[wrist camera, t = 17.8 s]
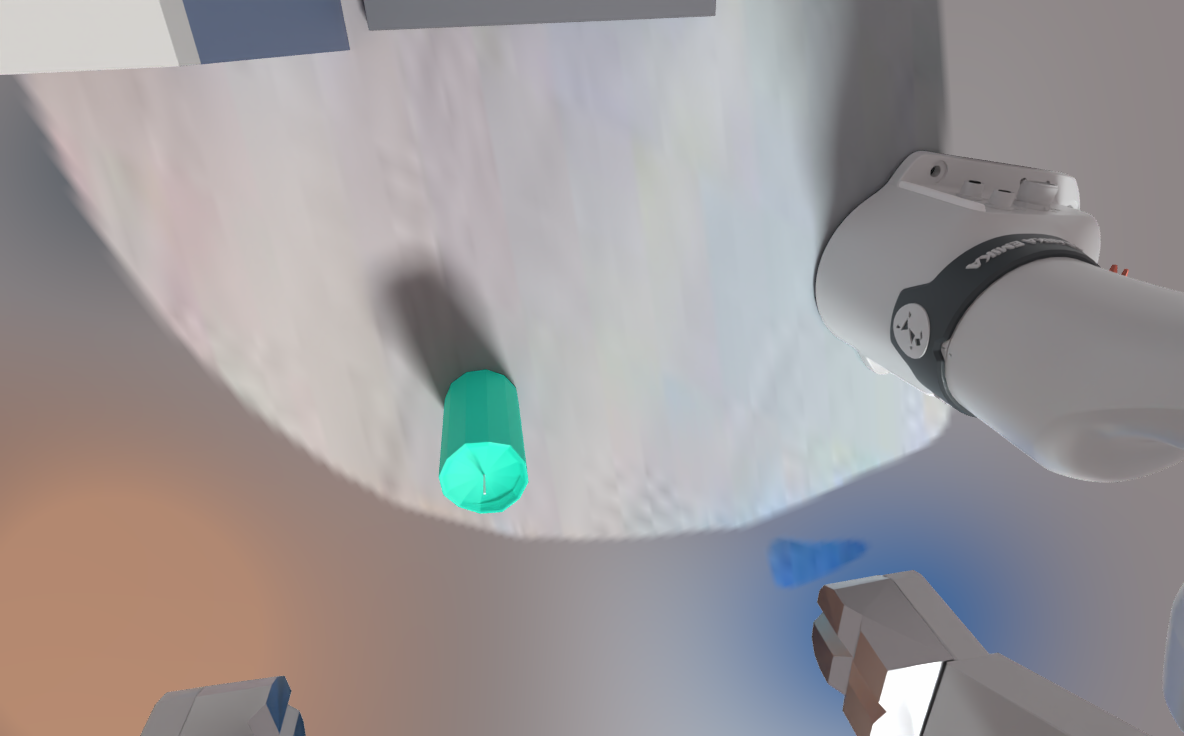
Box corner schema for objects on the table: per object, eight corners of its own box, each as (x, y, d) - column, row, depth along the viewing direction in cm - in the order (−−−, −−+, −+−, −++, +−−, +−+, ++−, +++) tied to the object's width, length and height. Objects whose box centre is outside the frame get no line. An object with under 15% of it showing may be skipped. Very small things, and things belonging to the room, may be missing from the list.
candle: (530, 416, 53) (544, 508, 43) (464, 442, 53) (462, 541, 43) (501, 358, 50) (508, 441, 40) (431, 386, 51) (420, 477, 40)
